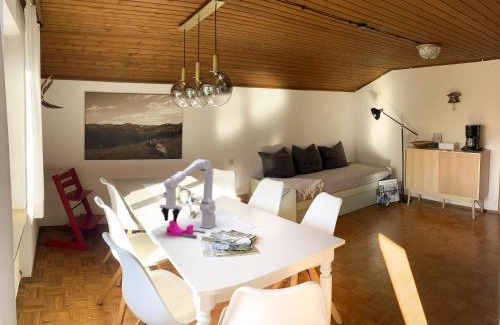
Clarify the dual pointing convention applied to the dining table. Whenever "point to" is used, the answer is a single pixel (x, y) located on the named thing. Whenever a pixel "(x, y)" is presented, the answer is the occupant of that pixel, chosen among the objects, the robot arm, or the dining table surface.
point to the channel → (191, 235)
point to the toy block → (178, 229)
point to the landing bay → (212, 237)
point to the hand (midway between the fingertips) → (170, 221)
